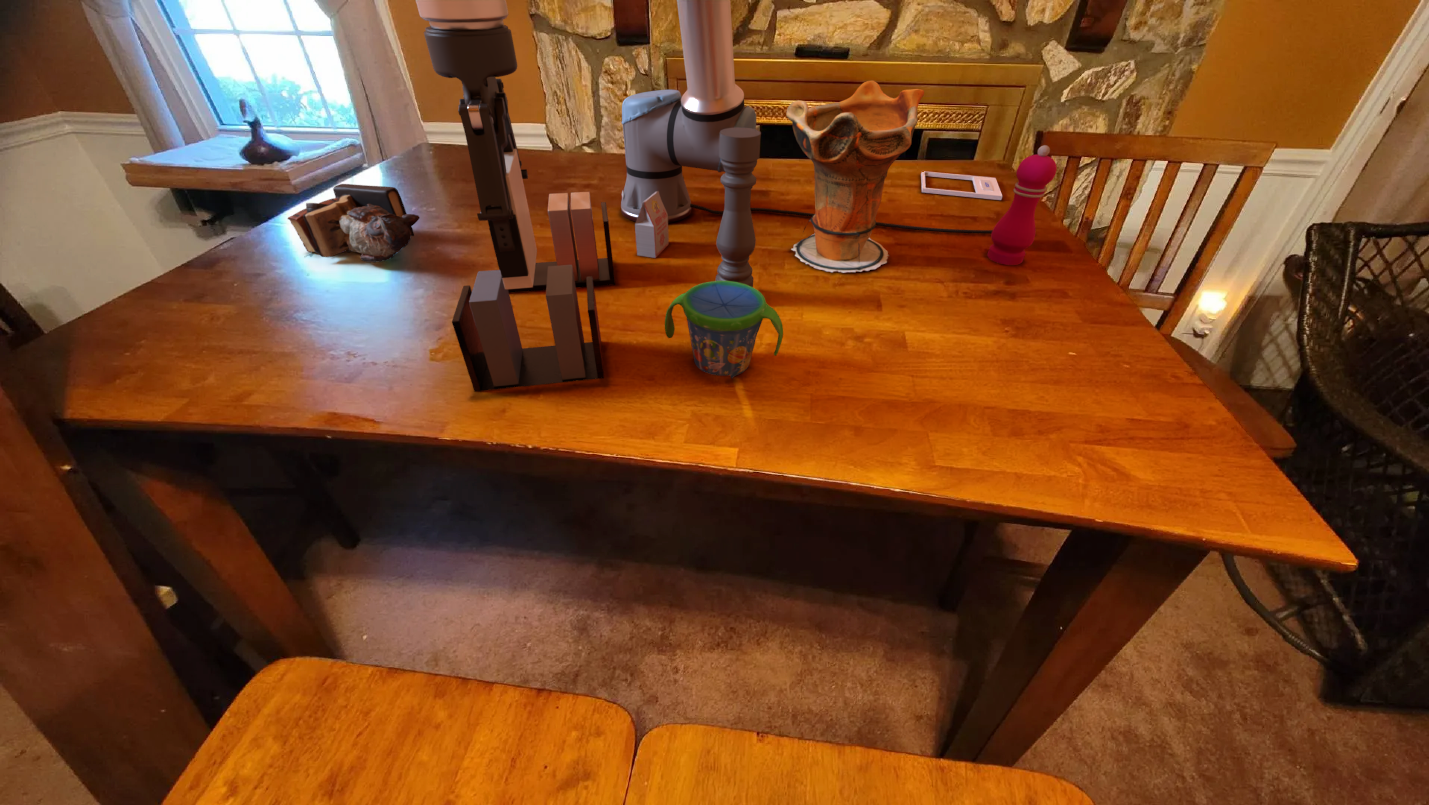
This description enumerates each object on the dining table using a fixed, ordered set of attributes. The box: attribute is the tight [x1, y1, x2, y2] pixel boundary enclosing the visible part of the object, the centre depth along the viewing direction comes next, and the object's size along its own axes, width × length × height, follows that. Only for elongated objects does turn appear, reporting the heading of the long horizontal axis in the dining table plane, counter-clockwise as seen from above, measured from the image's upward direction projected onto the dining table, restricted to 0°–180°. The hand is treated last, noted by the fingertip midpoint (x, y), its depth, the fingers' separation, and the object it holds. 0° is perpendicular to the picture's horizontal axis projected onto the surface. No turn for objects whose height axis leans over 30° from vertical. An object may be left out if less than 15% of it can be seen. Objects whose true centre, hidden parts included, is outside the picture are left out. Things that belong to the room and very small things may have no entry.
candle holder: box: [715, 127, 762, 288], centre depth 83 cm, size 6×6×25 cm
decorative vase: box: [785, 80, 925, 274], centre depth 96 cm, size 21×23×28 cm
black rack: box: [488, 191, 616, 294], centre depth 92 cm, size 18×9×13 cm, turn 101°
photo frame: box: [920, 170, 1003, 201], centre depth 137 cm, size 15×1×18 cm
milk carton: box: [634, 191, 670, 259], centre depth 102 cm, size 4×7×10 cm, turn 163°
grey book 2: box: [545, 265, 586, 380], centre depth 71 cm, size 3×8×12 cm, turn 11°
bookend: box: [287, 183, 421, 263], centre depth 100 cm, size 15×11×25 cm
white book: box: [491, 149, 538, 289], centre depth 61 cm, size 3×10×12 cm, turn 11°
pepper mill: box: [986, 144, 1058, 266], centre depth 98 cm, size 7×7×20 cm
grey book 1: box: [469, 269, 523, 387], centre depth 69 cm, size 3×8×12 cm, turn 11°
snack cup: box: [664, 280, 784, 380], centre depth 73 cm, size 16×10×10 cm
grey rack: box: [451, 276, 605, 393], centre depth 71 cm, size 16×9×11 cm, turn 101°
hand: (518, 254), depth 64 cm, fingers closed on white book, 10 cm apart
